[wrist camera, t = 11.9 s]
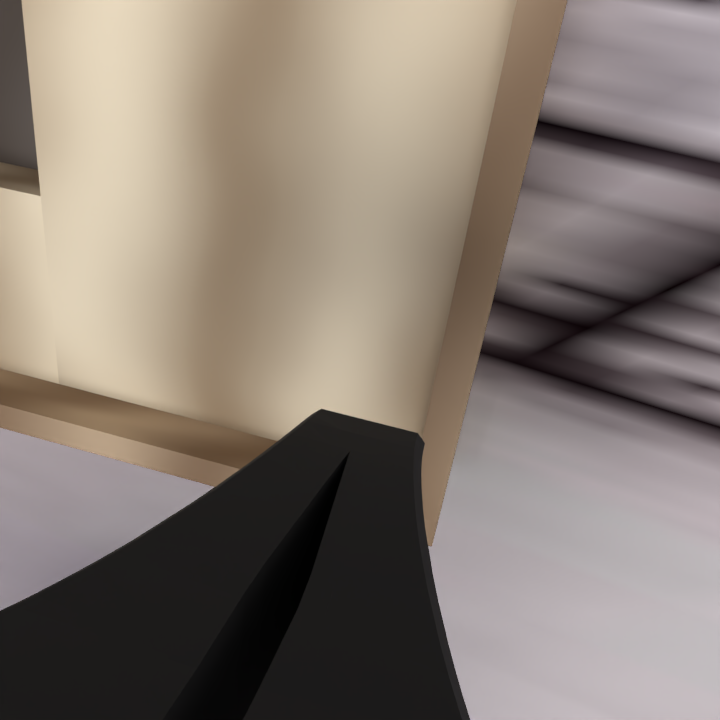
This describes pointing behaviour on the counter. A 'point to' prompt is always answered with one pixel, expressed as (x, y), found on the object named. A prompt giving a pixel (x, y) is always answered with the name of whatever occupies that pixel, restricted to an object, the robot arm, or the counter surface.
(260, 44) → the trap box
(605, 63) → the counter surface
